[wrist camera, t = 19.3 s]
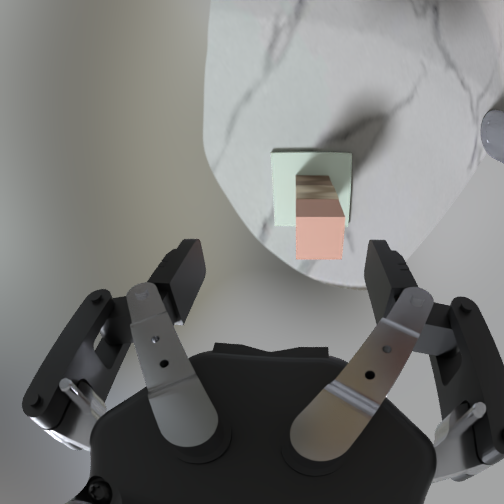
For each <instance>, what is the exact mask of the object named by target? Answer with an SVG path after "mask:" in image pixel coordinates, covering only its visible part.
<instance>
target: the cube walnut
mask: <svg viewBox="0 0 504 504" xmlns="http://www.w3.org/2000/svg"><path fill="white" fill-rule="evenodd" d="M296 185H325V186H333V185H332V182H331V180H330V177H329V176H324V175H296Z"/></svg>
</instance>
